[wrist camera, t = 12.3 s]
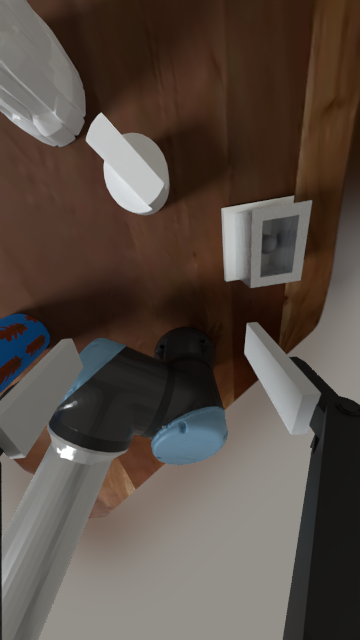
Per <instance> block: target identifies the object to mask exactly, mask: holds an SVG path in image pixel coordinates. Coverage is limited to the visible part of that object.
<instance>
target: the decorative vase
mask: <svg viewBox="0 0 360 640" xmlns="http://www.w3.org/2000/svg"><path fill="white" fill-rule="evenodd" d="M82 87H83V84H82V81H81V79H80V76H79V73H78V71H77V70H76V68H75V67H74V65H73V63H72V62H71V60H70V58H69V57H68V55H67V54H66V52H65V51H64V49H63V47H62V46H61V44H60V43H59V41H58V39H57V38H56V36H55V35H54V33H53V32H52V30H51V29H50V28H49V27H48V25H47V24H46V23H45V22H44V21H43V20H42V19H41V18H40V17H39V16H38V15H37V14H36V13H35V12H34V11H33V10H32V9H31V7H30V6H29V4H28V3H27V1H26V0H0V111H1V112H2V113H4V114H5V115H6V116H7V117H8V118H9V119H10V120H11V121H12V122H13V123H15V124H16V125H17V126H19V127H20V128H21V129H23V130H24V131H26V132H27V133H29V134H31V135H32V136H34V137H35V138H37V139H38V140H40V141H42V142H43V143H46V144H48V145H51V146H54V147H55V146H57V145H58V146H59V147H63V146H66V145H68V144H69V143H71V142H72V141H74V140H75V136H74V135H76V136H77V135H79V133H80V131H81V129H82V127H83V124H84V122H85V121H84V119H83V117H85V115H86V104H85V91H84V89H83V88H82Z"/></svg>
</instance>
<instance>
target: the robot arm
mask: <svg viewBox="0 0 360 640" xmlns="http://www.w3.org/2000/svg"><path fill="white" fill-rule="evenodd" d="M244 354H245V355H246V357H247V359H248V361H249V362H250V364H251V366H252V368H253V369H254V371H255V373H256V375H257V376H258V378H259V380H260V382H261V383H262V385H263V387H264V389H265V390H266V392H267V394H268V395H269V397H270V399H271V401H272V403H273V404H274V406H275V408H276V410H277V411H278V413H279V415H280V417H281V418H282V420H283V422H284V424H285V425H286V427H287V429H288V431H289V432H290V434H291V435H297V434H306V433H307V431H308V429H309V426H310V427H311V428H312V430H313V431H314V433H315V435H314V438H313V441H312V443H311V446H310V447H311V448H312V451H311V458H310V465H309V471H308V478H307V484H306V491H305V498H304V504H303V511H302V517H301V524H300V531H299V537H298V544H297V550H296V557H295V563H294V570H293V576H292V583H291V590H290V596H289V602H288V609H287V615H286V622H285V629H284V636H283V640H360V405H359V404H357V403H356V402H354V401H352V400H350V399H348V398H345V397H341V396H338V395H337V394H336V392H334V390H333V389H331V387H330V386H328V384H327V383H325V382H324V380H323V379H321V377H320V376H319V375H317V373H316V372H315V371H314V370H312V368H311V367H310V366H309V365H308V364H307V363H306V362H304V361H303V360H301V359H299V358H298V357H288V356H287V355H286V354H285V353H284V351H283V350H282V349H281V348H280V347H279V346H278V345H277V344H276V342H275V341H274V340H273V339H272V338H271V337H270V336H269V335H268V334H267V332H266V331H265V330H264V329H263V328H262V327H261V326H260V325H259V324H258V322H252V323H247V327H246V338H245V349H244ZM215 357H216V356H215V349H214V346H213V343H212V341H211V340H210V338H209V337H208V336H207V335H206V334H204V333H203V332H201V331H199V330H196V329H192V328H178V329H174V330H172V331H170V332H168V333H166V334H165V335H163V336H162V337H161V338H160V340H159V341H158V343H157V345H156V348H155V354H154V358H153V357H150V356H148V355H146V354H143V353H141V352H139V351H136V350H134V349H132V348H129V347H127V345H126V344H120V343H117V342H114V341H112V340H109V339H106V338H98V339H95V340H94V341H92V342H91V343H90V344H88V345H87V346H86V347H85V348H84V349H83V351H82V352H81V353H80V354H79V355H78V352H77V350H76V347H75V345H74V342H73V340H72V339H62V340H61V341H60V342H59V343H58V344H57V345H56V346H55V347H54V348H53V349H52V350H51V351H50V352H49V353H48V354H47V355H46V356H45V357H44V358H43V359H42V360H41V361H40V362H39V363H38V364H37V365H36V366H35V367H34V368H33V369H32V370H31V371H30V372H29V373H28V374H27V375H26V376H25V377H24V378H23V379H22V380H21V381H19V382H17V383H16V384H14V385H13V386H11V387H10V388H8V389H7V390H6V391H5V392H4V393H3V394H2V395H1V397H0V456H1V455H2V453H3V452H4V453H5V454H6V455H7V456H8V457H9V458H10V459H13V458H25V457H26V455H27V454H28V452H29V451H30V449H31V448H32V446H33V445H34V443H35V442H36V440H37V438H38V437H39V435H40V434H41V432H42V431H43V429H44V428H45V426H46V424H47V423H48V421H49V420H50V418H51V417H52V418H51V420H50V422H49V424H48V431H49V434H50V436H51V439H52V443H51V445H50V446H49V448H48V450H47V452H46V454H45V456H44V458H43V460H42V462H41V464H40V465H39V467H38V469H37V471H36V473H35V475H34V477H33V479H32V481H31V482H30V484H29V486H28V488H27V490H26V492H25V494H24V496H23V498H22V499H21V501H20V503H19V505H18V507H17V509H16V511H15V513H14V515H13V517H12V519H11V520H10V522H9V524H8V526H7V528H6V530H5V532H4V534H3V535H2V532H1V531H2V523H1V522H2V521H1V520H2V519H1V517H2V514H1V462H0V640H38V638H39V636H40V634H41V631H42V629H43V627H44V624H45V622H46V619H47V617H48V614H49V612H50V610H51V607H52V604H53V602H54V600H55V597H56V595H57V593H58V590H59V588H60V585H61V583H62V581H63V578H64V576H65V573H66V571H67V568H68V566H69V564H70V561H71V559H72V556H73V554H74V551H75V549H76V547H77V544H78V542H79V539H80V537H81V535H82V532H83V529H84V527H85V525H86V522H87V520H88V518H89V515H90V513H91V510H92V508H93V505H94V503H95V501H96V498H97V496H98V493H99V491H100V489H101V486H102V484H103V481H104V479H105V476H106V474H107V472H108V469H109V467H110V464H111V462H112V460H113V459H114V458H116V457H118V456H120V455H121V454H123V453H125V452H126V451H127V450H128V448H129V446H130V443H131V440H132V438H133V436H134V435H140V436H143V437H146V438H149V439H152V443H151V447H152V450H153V454H154V456H155V457H157V459H158V460H159V461H161V462H164V463H167V464H173V465H183V464H190V463H195V462H198V461H202V460H204V459H207V458H209V457H210V456H212V455H214V454H215V453H217V452H218V451H219V450H220V449H221V448H222V447H223V445H224V444H225V442H226V439H227V435H228V430H227V425H226V419H225V411H224V408H223V405H222V401H221V398H220V395H219V391H218V388H217V384H216V381H215V377H214V374H213V369H214V364H215ZM52 415H53V416H52Z"/></svg>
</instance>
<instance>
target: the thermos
mask: <svg viewBox="0 0 360 640" xmlns="http://www.w3.org/2000/svg"><path fill="white" fill-rule="evenodd" d="M49 342H50V335H49V333H48V330H47V329H46V328H45V326H44V325H43V324H42V323H41V322H39V321H38V320H37V319H35V318H33V317H31V316H28V315H25V314H13V315H9V316H7V317H4V318H2V319H0V393H1V392H2V391H3V390H4V389H5V388H6V387H7V386H8V385H9V384H10V383H11V382H12V381H13V380H14V379H15V378H17V377H18V376H19V375H20V374H21V373H22V372H23V371H24V370H25V369H26V368H27V367H28V366H29V365H30V364H31V363H32V362H33V361H34V360H35V359H36V358H37V357H38V356H39V355H40V354H41V353H42V352H43V351H44V350H45V349H46V348H47V346H48V344H49Z"/></svg>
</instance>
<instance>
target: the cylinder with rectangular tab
mask: <svg viewBox="0 0 360 640" xmlns="http://www.w3.org/2000/svg"><path fill="white" fill-rule="evenodd" d="M86 142H87V143H88V144H89V145H90V146H91V147H92V148H93V149H94V150H95V151H96V152H97V153H98V154H99V155H100V156H101V157H102V158H103V159H104V160H105V161H104V178H105V181H106V185H107V188H108V190H109V192H110V194H111V196H112V197H113V198H114V199H115V201H116V202H117V203H118V204H119V205H121V206H122V207H123V208H124V209H126V210H129V211H131V212H134V213H137V214H140V215H150V214H153V213H155V212H157V211H159V210H160V209H161V208H162V207H163V205H164V204H165V202H166V200H167V198H168V194H169V186H170V183H169V174H168V167H167V163H166V160H165V158H164V155H163V153H162V152H161V150H160V149H159V147H158V146H157V145H156V144H155V143H154V142H153V141H152V140H151V139H150V138H148V137H146V136H144V135H142V134H137V133H128V134H123V135H121V134H120V133H119V132H118V131H117V129H116V128H115V127H114V126H113V125H112V124H111V123H110V122H109V120H108V119H107V118H106V117H105V116H104V115H103V114H102V113H100V114H98V116H97V117H96V118H95V120H94V121H93V122H92V124H91V126H90V128H89V131H88V133H87V136H86Z"/></svg>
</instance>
